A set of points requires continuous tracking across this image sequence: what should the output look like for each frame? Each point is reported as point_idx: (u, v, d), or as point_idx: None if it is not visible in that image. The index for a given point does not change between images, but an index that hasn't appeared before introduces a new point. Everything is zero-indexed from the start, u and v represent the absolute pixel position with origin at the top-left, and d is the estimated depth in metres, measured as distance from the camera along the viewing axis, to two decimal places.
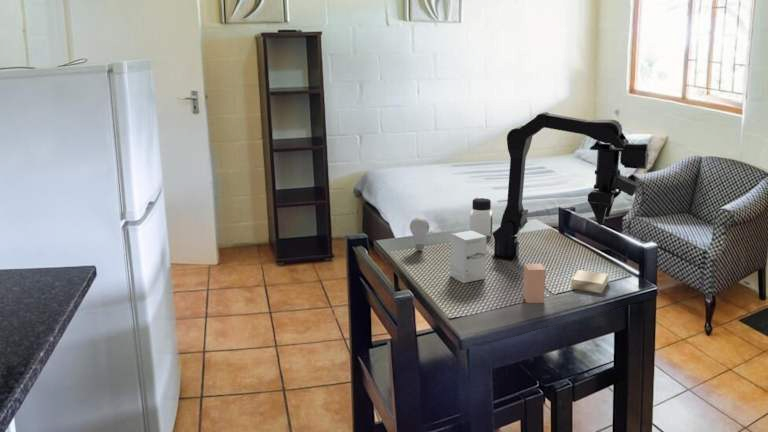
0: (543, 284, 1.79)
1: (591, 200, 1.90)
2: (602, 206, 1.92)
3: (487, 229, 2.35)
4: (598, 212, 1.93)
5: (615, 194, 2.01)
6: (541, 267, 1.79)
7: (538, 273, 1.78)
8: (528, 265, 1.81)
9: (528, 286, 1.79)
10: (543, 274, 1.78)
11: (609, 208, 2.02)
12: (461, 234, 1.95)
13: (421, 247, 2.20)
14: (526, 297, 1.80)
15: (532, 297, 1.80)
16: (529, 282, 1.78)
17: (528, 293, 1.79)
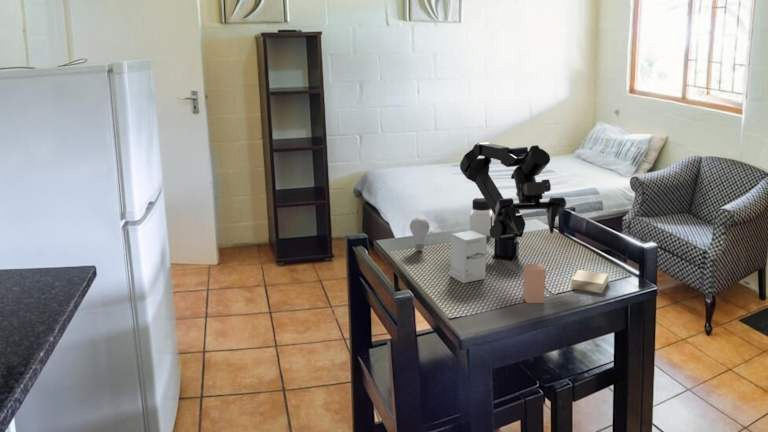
0: (543, 284, 1.79)
1: (496, 213, 1.96)
2: None
3: (487, 229, 2.35)
4: (512, 222, 1.94)
5: (551, 208, 1.94)
6: (541, 267, 1.79)
7: (538, 273, 1.78)
8: (528, 265, 1.81)
9: (528, 286, 1.79)
10: (543, 274, 1.78)
11: (550, 223, 1.93)
12: (460, 234, 1.95)
13: (421, 247, 2.20)
14: (526, 297, 1.80)
15: (532, 297, 1.80)
16: (529, 282, 1.78)
17: (528, 293, 1.79)
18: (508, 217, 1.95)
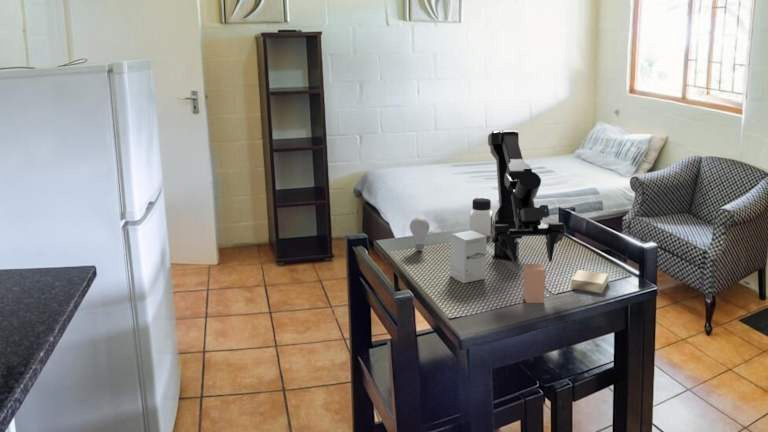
0: (543, 284, 1.79)
1: (492, 239, 1.87)
2: None
3: (487, 229, 2.35)
4: (508, 250, 1.84)
5: (550, 235, 1.84)
6: (541, 267, 1.79)
7: (538, 273, 1.78)
8: (528, 265, 1.81)
9: (528, 286, 1.79)
10: (543, 274, 1.78)
11: (549, 251, 1.83)
12: (460, 234, 1.95)
13: (421, 247, 2.20)
14: (526, 297, 1.80)
15: (532, 297, 1.80)
16: (529, 282, 1.78)
17: (528, 293, 1.79)
18: (504, 244, 1.85)
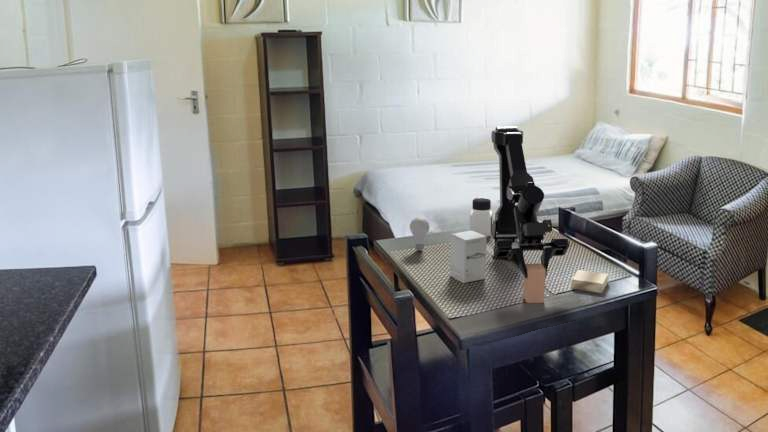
0: (543, 284, 1.79)
1: (494, 254, 1.84)
2: None
3: (487, 229, 2.35)
4: (519, 265, 1.81)
5: (544, 250, 1.81)
6: (541, 267, 1.79)
7: (538, 273, 1.78)
8: (528, 265, 1.81)
9: (528, 286, 1.79)
10: (543, 274, 1.78)
11: None
12: (460, 234, 1.95)
13: (421, 247, 2.20)
14: (526, 297, 1.80)
15: (532, 297, 1.80)
16: (529, 282, 1.78)
17: (528, 293, 1.79)
18: (515, 258, 1.83)
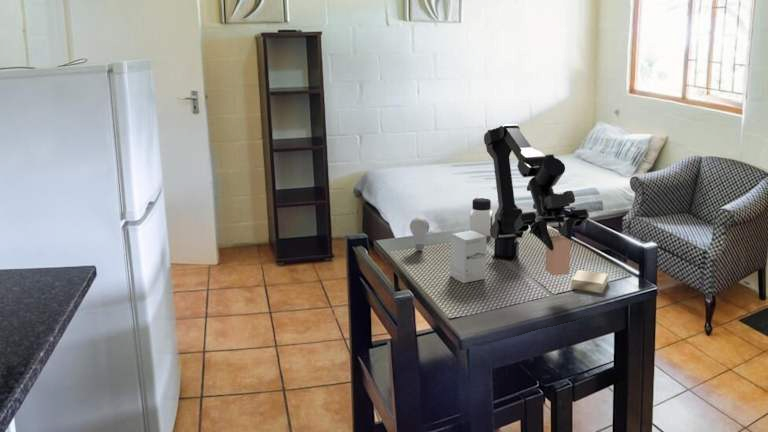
0: (568, 255, 1.79)
1: (516, 228, 1.82)
2: (542, 230, 1.81)
3: (487, 229, 2.35)
4: (543, 237, 1.81)
5: (566, 221, 1.81)
6: (565, 238, 1.80)
7: (563, 245, 1.78)
8: (551, 237, 1.81)
9: (554, 258, 1.79)
10: (568, 245, 1.78)
11: None
12: (460, 234, 1.95)
13: (421, 247, 2.20)
14: (551, 269, 1.80)
15: (558, 269, 1.80)
16: (555, 254, 1.78)
17: (554, 265, 1.79)
18: (537, 232, 1.82)
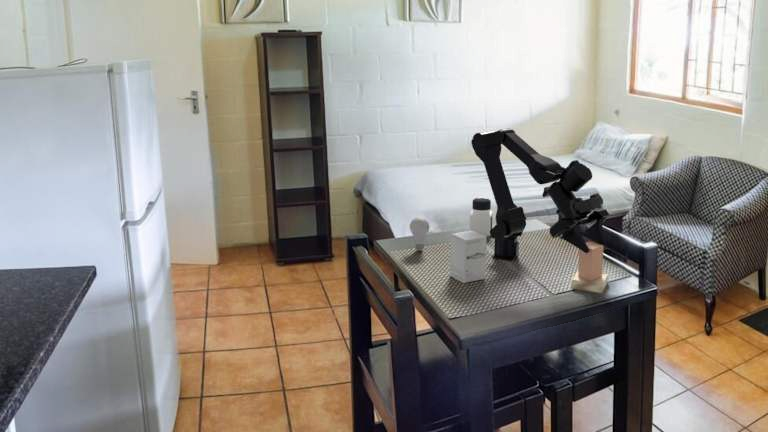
0: (601, 260, 1.88)
1: (553, 235, 1.86)
2: (574, 234, 1.86)
3: (487, 229, 2.35)
4: (576, 241, 1.86)
5: (596, 222, 1.90)
6: (597, 244, 1.88)
7: (598, 251, 1.86)
8: None
9: (592, 264, 1.86)
10: (602, 250, 1.87)
11: (600, 238, 1.90)
12: (460, 234, 1.95)
13: (421, 247, 2.20)
14: (588, 275, 1.88)
15: (594, 274, 1.88)
16: (592, 260, 1.86)
17: (592, 271, 1.87)
18: (568, 236, 1.87)
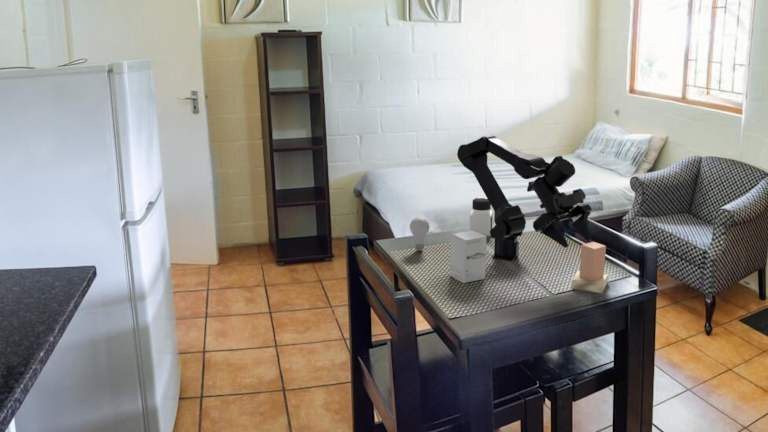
0: (603, 260, 1.88)
1: (536, 228, 1.91)
2: (554, 229, 1.90)
3: (487, 229, 2.35)
4: (555, 236, 1.90)
5: (582, 216, 1.96)
6: (599, 244, 1.88)
7: (600, 251, 1.86)
8: (587, 245, 1.88)
9: (593, 264, 1.86)
10: (604, 251, 1.87)
11: (585, 231, 1.95)
12: (461, 234, 1.95)
13: (421, 247, 2.20)
14: (589, 275, 1.88)
15: (595, 274, 1.88)
16: (594, 260, 1.86)
17: (593, 271, 1.87)
18: (548, 231, 1.91)
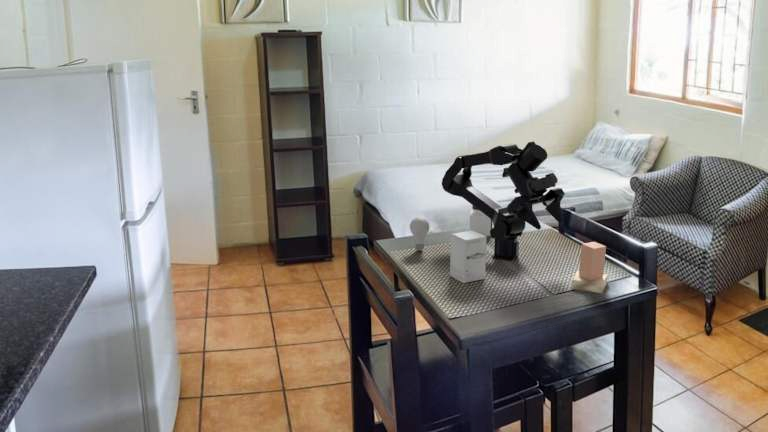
0: (603, 260, 1.88)
1: (510, 212, 1.97)
2: (527, 212, 1.97)
3: (487, 229, 2.35)
4: (529, 219, 1.97)
5: (555, 200, 2.02)
6: (600, 245, 1.88)
7: (600, 251, 1.86)
8: (587, 244, 1.88)
9: (592, 264, 1.86)
10: (604, 251, 1.87)
11: (558, 214, 2.02)
12: (460, 234, 1.95)
13: (421, 247, 2.20)
14: (588, 275, 1.88)
15: (594, 274, 1.88)
16: (593, 260, 1.86)
17: (592, 271, 1.87)
18: (522, 214, 1.98)
